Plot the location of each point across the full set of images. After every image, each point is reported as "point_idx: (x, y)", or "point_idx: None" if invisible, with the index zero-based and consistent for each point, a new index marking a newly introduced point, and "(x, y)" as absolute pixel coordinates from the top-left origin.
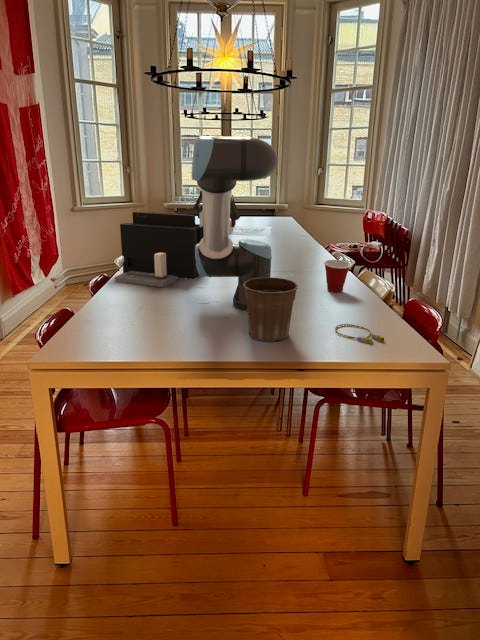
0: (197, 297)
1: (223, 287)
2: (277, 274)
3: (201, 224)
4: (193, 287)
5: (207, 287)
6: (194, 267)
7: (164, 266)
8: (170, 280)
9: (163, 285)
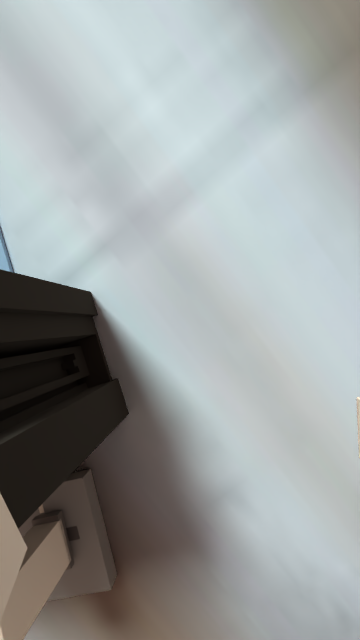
0: (304, 610)
1: (295, 441)
2: (353, 120)
3: (12, 579)
4: (203, 509)
5: (245, 478)
6: (111, 423)
7: (42, 563)
8: (98, 524)
9: (114, 575)
